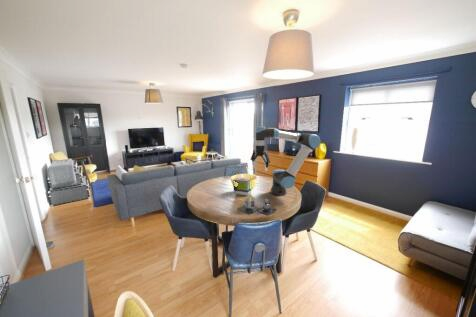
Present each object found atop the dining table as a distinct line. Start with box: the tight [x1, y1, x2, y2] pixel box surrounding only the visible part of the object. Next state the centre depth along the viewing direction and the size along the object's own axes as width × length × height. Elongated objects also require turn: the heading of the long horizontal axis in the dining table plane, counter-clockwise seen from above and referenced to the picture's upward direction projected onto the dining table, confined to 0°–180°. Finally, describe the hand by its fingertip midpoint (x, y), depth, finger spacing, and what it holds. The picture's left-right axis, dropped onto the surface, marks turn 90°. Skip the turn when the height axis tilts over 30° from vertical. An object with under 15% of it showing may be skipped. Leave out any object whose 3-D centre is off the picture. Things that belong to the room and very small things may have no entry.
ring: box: [244, 196, 256, 207], centre depth 160 cm, size 8×8×5 cm
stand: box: [256, 198, 278, 216], centre depth 158 cm, size 12×12×10 cm
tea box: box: [232, 176, 252, 197], centre depth 194 cm, size 15×10×15 cm, turn 66°
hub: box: [237, 196, 260, 216], centre depth 160 cm, size 14×14×10 cm
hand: (259, 169), depth 171 cm, fingers open, 13 cm apart
